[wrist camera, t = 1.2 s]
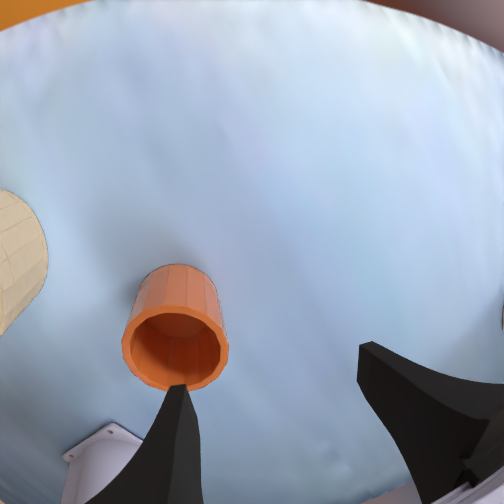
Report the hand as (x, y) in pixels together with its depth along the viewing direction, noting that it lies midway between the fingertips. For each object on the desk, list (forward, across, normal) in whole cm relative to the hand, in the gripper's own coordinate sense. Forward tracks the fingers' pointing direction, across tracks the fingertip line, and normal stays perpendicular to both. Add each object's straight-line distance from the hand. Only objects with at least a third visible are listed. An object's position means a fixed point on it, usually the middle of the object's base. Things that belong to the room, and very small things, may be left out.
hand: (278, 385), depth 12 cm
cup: (+9, +4, 0) cm, 10 cm away
